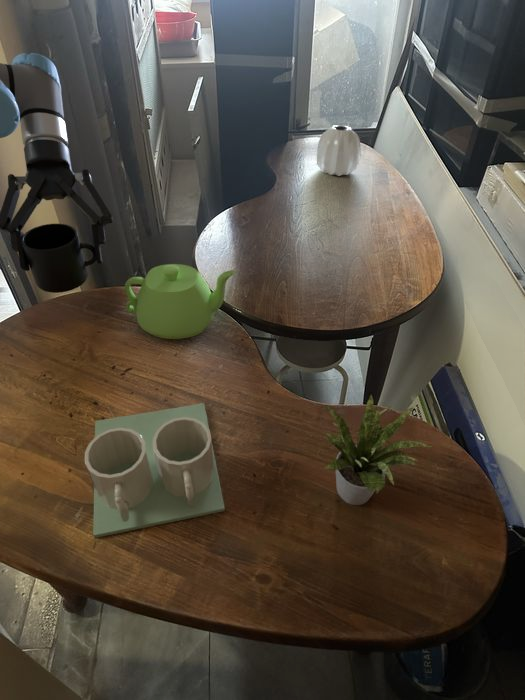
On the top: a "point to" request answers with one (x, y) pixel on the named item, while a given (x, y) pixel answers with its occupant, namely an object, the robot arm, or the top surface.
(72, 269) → the mug
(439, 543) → the top surface
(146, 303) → the teapot
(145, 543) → the top surface
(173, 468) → the cream mug right
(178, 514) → the mug mat
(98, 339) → the top surface
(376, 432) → the house plant
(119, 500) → the cream mug left
